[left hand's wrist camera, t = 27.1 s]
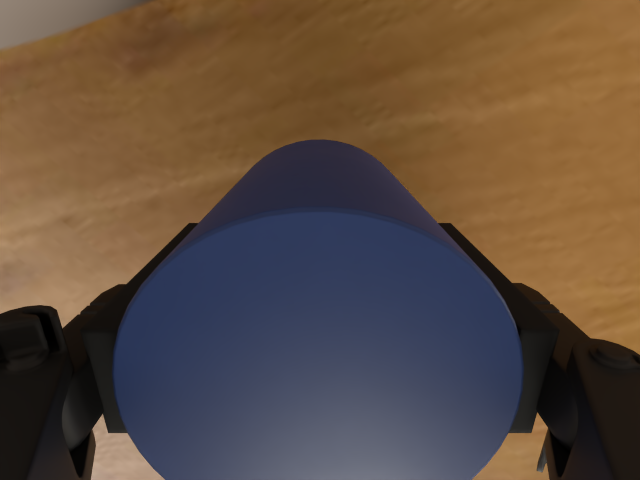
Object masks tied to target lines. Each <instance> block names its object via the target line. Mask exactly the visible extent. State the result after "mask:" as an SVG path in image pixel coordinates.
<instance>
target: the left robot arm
mask: <svg viewBox="0 0 640 480" xmlns="http://www.w3.org/2000/svg"><path fill="white" fill-rule="evenodd" d="M198 224H199V223H189V224H188V225H187V226H186V227H185V228H184V229H183V230H182V231H181V232H180V233H179V234H178V235H177V236H176V237H175V238H173V239H172V240H171V241H170V242H169V243H168V244H167V245H166V246H165V247H164V248H163V249H162V250H161V251H160V252H159V253H158V254H157V255H156V256H155V257H154V258H153V259H152V260H151V261H150V262H149V263H148V264H147V265H146V266H145V267H144V268H143V269H142V270H141V271H140V272H139V273H138V274H136V275H135V276H134V277H133V278H132V279H131V280H130V281H129V282H128V283H127V284H118V285H116V286H114V287H113V288H111V289H109V290H107V291H105V292H103V293H101V294H100V295H99V296H98V297H97V298H96V299H95V300H94V301H92V302H91V303H90V306H87V307H86V308H85V309H84V310H82V311H81V312H80V313H81V314H80V315H77V316H76V317H75V318H74V319H73V320H71V321H70V322H69V323H68V324H67V325H66V326H65V327H64V328H63V329H62V326H61V323H60V319H59V316H58V312H57V310H56V309H54V308H53V307H51V306H43V305H37V306H27V307H22V308H18V309H14V310H10V311H7V312H4V313H2V314H0V480H91V474H92V467H93V461H94V454H95V447H96V443H95V437H94V434H93V430H92V428H93V427H94V425H95V424H96V423H97V421H98V420H99V418H100V417H101V415H102V414H103V415H104V419H105V423H106V426H107V430H108V433H128V432H127V430H126V428H125V426H124V423H123V421H122V419H121V417H120V414H119V410H118V407H117V403H116V400H115V396H114V388H113V379H112V365H113V350H114V346H115V341H116V337H117V333H118V329H119V326H120V323H121V321H122V319H123V316H124V314H125V312H126V309H127V307H128V305H129V303H130V302H131V300H132V299H133V297H134V295H135V294H136V292H137V291H138V289H139V288H140V286H141V284H142V283H143V282H144V281H145V280H146V279H147V278H148V277H149V275H150V274H151V273H152V272H153V271H154V270H155V269H156V268H157V267H158V265H159V264H160V263H161V262H162V261H163V260H164V259H165V258H166V257H167V256H168V255H169V254H170V253H171V252H172V251H173V250H174V249H175V248H176V247H177V245H178V244H179V243H180V242H181V241H182V240H183V239H184V238H185V237H186V236H187V235H188V234H189V233H190V232H191V231H192V230H193V229H194V228H195V227H196V226H197V225H198ZM438 224H439V225H440V226H441V227H442V228H443V229H444V230H445V232H446V233H447V234H448V235H449V236H450V237H451V238H452V239H453V240H454V241H455V242H456V243H457V244H458V246H459V247H460V248H461V249H462V250H463V251H464V252H465V253H466V254H467V255H468V256H469V257H470V258H471V259H472V261H473V262H474V263H475V264H476V265H477V266H478V267H479V268H480V269H481V270H482V271H483V272H484V273H485V275H486V276H487V277H488V278H489V279H490V280H491V282H492V283H493V284H494V286H495V287H496V289H497V290H498V292H499V293H500V294H501V296H502V297H503V299H504V300H505V302H506V304H507V306H508V308H509V310H510V313H511V315H512V317H513V319H514V321H515V324H516V327H517V331H518V334H519V338H520V341H521V346H522V355H523V365H524V375H523V390H522V395H521V399H520V403H519V408H518V411H517V414H516V416H515V419H514V421H513V424H512V426H511V429H510V431H509V433H531V432H532V429H533V425H534V422H535V418H536V414H537V412H538V414H539V415H540V416H541V418H542V419H543V421H544V422H545V424H546V425H547V427H548V430H547V434H546V437H545V440H544V444H543V447H542V450H541V454H540V457H539V461H538V465H537V471H540V472H543V469H544V466H545V464H546V463H547V466H548V473H549V479H550V480H640V355H639V354H637V353H636V352H634V351H633V350H630V349H628V348H626V347H624V346H621V345H619V344H616V343H613V342H609V341H606V340H600V339H592V338H589V337H588V336H587V335H586V334H585V333H584V332H583V331H582V330H580V329H579V328H578V327H577V326H576V325H575V324H574V323H573V322H571V321H570V320H569V319H568V318H567V317H566V316H565V315H564V314H563V313H560V311H559V310H558V309H557V308H556V307H555V306H554V305H553V304H550V302H549V301H548V300H547V299H546V298H545V297H544V296H542V295H541V294H540V293H539V292H538V291H536V290H534V289H532V288H530V287H528V286H526V285H524V284H522V283H511V282H510V281H509V280H508V279H507V278H506V277H505V276H504V275H503V274H502V273H501V272H500V271H499V270H498V269H497V268H496V267H495V266H494V265H493V264H492V263H491V262H490V261H489V260H488V259H487V258H486V257H485V256H484V255H483V254H482V253H481V252H480V251H479V250H478V249H477V248H476V247H474V246H473V245H472V244H471V243H470V242H469V241H468V240H467V239H466V238H465V237H464V236H463V235H462V234H461V233H460V232H459V231H458V230H457V229H456V228H455V227H454V226H453V225H452V224H451V223H438Z"/></svg>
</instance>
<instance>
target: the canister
mask: <svg viewBox="0 0 640 480" xmlns="http://www.w3.org/2000/svg"><path fill="white" fill-rule="evenodd" d="M523 375H524V365H523V355H522V346H521V341H520V338H519V334H518V331H517V327H516V324H515V321H514V319H513V317H512V315H511V313H510V310H509V308H508V306H507V304H506V302H505V300H504V299H503V297H502V296H501V294H500V293H499V292H498V290H497V289H496V287H495V286H494V284H493V283H492V282H491V280H490V279H489V278H488V277H487V276H486V275H485V273H484V272H483V271H482V270H481V269H480V268H479V267H478V266H477V265H476V264H475V263H474V262H473V261H472V259H471V258H470V257H469V256H468V255H467V254H466V253H465V252H464V251H463V250H462V249H461V248H460V247H459V246H458V244H457V243H456V242H455V241H454V240H453V239H452V238H451V237H450V236H449V235H448V234H447V233H446V232H445V230H444V229H443V228H442V227H441V226H440V225H439V224H438V223H437V222H436V221H435V220H434V219H433V218H432V216H431V215H430V214H429V213H428V212H427V211H426V210H425V209H424V208H423V207H422V206H421V205H420V204H419V203H418V201H417V200H416V199H415V198H414V197H413V196H412V195H411V194H410V193H409V192H408V191H407V190H406V189H405V187H404V186H403V185H402V184H401V183H400V182H399V181H398V180H397V179H396V178H395V177H394V176H393V175H392V173H391V172H390V171H389V170H388V169H387V168H386V167H385V166H384V165H383V164H382V163H381V162H379V161H378V160H377V159H376V158H374V157H373V156H372V155H370V154H368V153H367V152H365V151H363V150H361V149H359V148H357V147H354V146H352V145H349V144H346V143H342V142H338V141H331V140H307V141H300V142H296V143H292V144H289V145H286V146H284V147H281V148H279V149H277V150H275V151H273V152H271V153H270V154H268V155H267V156H265V157H263V158H262V159H261V160H260V161H259V162H258V163H256V164H255V165H254V166H253V167H252V168H251V169H250V170H249V171H248V172H247V173H246V174H245V175H244V176H243V178H242V179H241V180H240V181H239V182H238V183H237V184H236V185H235V186H234V187H233V188H232V189H231V190H230V191H229V192H228V193H227V194H226V195H225V196H224V197H223V198H222V199H221V201H220V202H219V203H218V204H217V205H216V206H215V207H214V208H213V209H212V210H211V211H210V212H209V213H208V214H207V215H206V216H205V217H204V218H203V219H202V220H201V221H200V222H199V224H198V225H197V226H196V227H195V228H194V229H193V230H192V231H191V232H190V233H189V234H188V235H187V236H186V237H185V238H184V239H183V240H182V241H181V242H180V243H179V244H178V245H177V247H176V248H175V249H174V250H173V251H172V252H171V253H170V254H169V255H168V256H167V257H166V258H165V259H164V260H163V261H162V262H161V263H160V264H159V265H158V267H157V268H156V269H155V270H154V271H153V272H152V273H151V274H150V275H149V277H148V278H147V279H146V280H145V281H144V282H143V283H142V284H141V286H140V288H139V289H138V291H137V292H136V294H135V295H134V297H133V299H132V300H131V302H130V303H129V305H128V307H127V309H126V312H125V314H124V316H123V319H122V321H121V323H120V326H119V329H118V333H117V337H116V341H115V346H114V350H113V365H112V379H113V388H114V396H115V400H116V403H117V407H118V410H119V414H120V417H121V419H122V421H123V423H124V426H125V428H126V430H127V432H128V435H129V436H130V438H131V439H132V441H133V442H134V444H135V446H136V447H137V449H138V450H139V452H140V453H141V454H142V456H143V457H144V458H145V459H146V460H147V462H148V463H149V464H150V465H151V466H152V467H153V469H154V470H155V471H157V472H158V473H159V474H160V475H161V476H162V477H163V478H164V479H165V480H472V479H473V478H474V477H475V476H476V475H477V474H478V473H479V472H480V471H481V470H482V469H483V468H484V467H485V466H486V465H487V463H488V462H489V461H490V460H491V458H492V457H493V456H494V454H495V453H496V452H497V451H498V449H499V448H500V446H501V445H502V443H503V441H504V439H505V438H506V436H507V434H508V433H509V431H510V429H511V426H512V424H513V421H514V419H515V416H516V414H517V411H518V408H519V403H520V399H521V395H522V390H523Z"/></svg>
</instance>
